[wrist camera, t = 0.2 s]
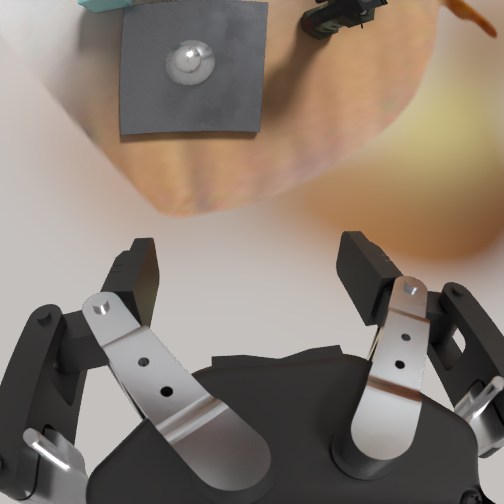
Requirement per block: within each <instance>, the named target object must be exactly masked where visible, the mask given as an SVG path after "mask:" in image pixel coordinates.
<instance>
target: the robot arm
mask: <svg viewBox="0 0 504 504" xmlns="http://www.w3.org/2000/svg"><path fill="white" fill-rule="evenodd" d="M336 269H337V274H338V276H339V278H340V280H341V282H342V283H343V285H344V287H345V289H346V290H347V292H348V294H349V296H350V298H351V299H352V301H353V303H354V305H355V307H356V309H357V310H358V312H359V314H360V316H361V318H362V320H363V322H364V323H365V325H366V326H369V325H376V324H377V325H378V328H377V331H376V333H375V336H374V339H373V342H372V345H371V348H370V351H369V354H368V357H367V359H364V358H361V357H358V356H354V355H349V354H343V353H342V350H341V348H340V345H335V346H328V347H320V348H312V349H308V350H305V351H302V352H299V353H297V354H294V355H291V356H288V357H284V358H281V359H275V358H266V357H265V358H264V357H257V356H249V355H234V356H216V357H215V356H214V357H212V366H210V367H207V368H204V369H201V370H198V371H196V372H194V373H192V374H190V373H189V372H188V371H187V370H186V369H185V368H184V367H183V366H182V365H181V364H180V362H179V361H178V360H177V359H176V358H175V357H174V356H173V355H172V354H171V352H170V351H169V350H168V349H167V348H166V347H165V346H164V345H163V343H162V342H161V341H160V340H159V339H158V337H157V336H156V335H155V334H154V333H153V332H152V330H151V329H150V325H151V320H152V314H153V309H154V305H155V300H156V296H157V291H158V286H159V268H158V261H157V257H156V249H155V244H154V239H153V238H136V239H135V240H134V242H133V244H132V246H131V248H130V250H129V251H123V252H122V253H121V254H120V255H118V256H117V257H116V259H115V261H114V263H113V265H112V267H111V269H110V272H109V274H108V276H107V278H106V280H105V283H104V284H103V287H102V289H101V291H100V293H97V294H94V295H92V296H91V297H90V298H88V299H87V300H86V301H85V302H84V304H83V306H82V310H80V311H76V312H72V313H68V314H62V312H61V309H60V308H59V307H58V306H57V305H54V304H48V305H44V306H41V307H39V308H37V309H36V310H35V311H34V312H33V313H32V314H31V315H30V317H29V319H28V321H27V323H26V325H25V327H24V329H23V331H22V334H21V336H20V338H19V340H18V342H17V345H16V347H15V349H14V352H13V354H12V357H11V359H10V361H9V364H8V366H7V369H6V372H5V374H4V377H3V380H2V382H1V385H0V492H2V493H4V494H6V495H7V496H8V497H10V498H11V499H13V500H15V501H17V502H19V503H21V504H495V503H494V502H492V501H491V500H490V499H488V498H487V497H486V496H485V495H484V493H483V491H482V489H481V487H480V483H479V475H478V457H480V458H487V457H489V456H491V455H492V454H494V453H495V452H496V451H497V450H499V449H500V448H501V447H503V446H504V336H503V335H502V333H501V332H500V331H499V329H498V328H497V327H496V325H495V324H494V322H493V321H492V320H491V318H490V317H489V316H488V314H487V313H486V312H485V311H484V309H483V308H482V307H481V306H480V304H479V303H478V302H477V300H476V299H475V298H474V297H473V296H472V294H471V293H470V292H469V291H468V290H467V289H466V288H465V287H464V286H462V285H460V284H457V283H454V282H449V283H446V284H445V285H444V287H443V289H442V292H441V293H439V292H432V291H427V288H426V286H425V285H424V284H423V283H422V282H421V281H420V280H418V279H416V278H414V277H410V276H403V274H402V273H401V272H400V271H399V269H398V268H397V267H396V266H395V265H394V264H393V262H392V261H390V259H389V257H388V256H387V255H386V254H385V253H384V252H383V250H382V249H381V248H380V247H379V246H377V245H375V244H374V243H372V242H369V240H368V239H367V238H366V237H365V236H364V235H363V233H362V232H361V231H344V232H343V233H342V236H341V242H340V247H339V252H338V257H337V262H336ZM457 328H458V329H459V331H460V332H461V334H462V335H463V337H464V339H465V342H466V345H465V349H464V351H463V353H462V352H461V350H460V349H459V347H458V345H457V344H456V342H455V341H454V339H453V337H452V336H453V335H454V333H455V331H456V329H457ZM426 354H427V355H428V357H429V359H430V361H431V362H432V365H433V366H434V368H435V370H436V372H437V374H438V376H439V378H440V380H441V382H442V384H443V386H444V388H445V390H446V392H447V394H448V397H449V399H450V401H451V403H452V405H453V407H454V412H452V411H451V410H449V409H447V408H445V407H444V406H442V405H441V404H439V403H437V402H436V401H434V400H432V399H431V398H429V397H427V396H426V395H424V394H422V393H421V392H420V390H421V385H422V379H423V373H424V367H425V361H426ZM106 365H107V366H108V367H109V369H110V370H111V373H112V374H113V376H114V378H115V379H116V381H117V382H118V384H119V386H120V387H121V389H122V390H123V392H124V393H125V395H126V396H127V398H128V400H129V401H130V403H131V404H132V406H133V407H134V409H135V410H136V412H137V413H138V415H139V416H140V418H141V419H142V422H141V423H140V424H139V425H138V426H137V427H136V428H135V429H134V430H133V431H132V432H131V433H130V434H129V435H128V436H127V437H126V438H125V439H124V440H123V441H122V442H121V443H120V444H119V445H118V446H117V447H116V448H115V449H114V450H113V451H112V452H111V453H110V454H109V455H108V456H107V457H106V458H105V459H104V460H103V461H102V462H101V463H100V464H99V465H98V466H97V467H96V468H95V469H94V471H93V472H92V473H91V475H90V477H89V478H88V476H87V474H86V471H85V462H84V458H83V456H82V454H81V453H80V452H79V450H78V449H76V448H75V447H74V443H75V436H76V429H77V423H78V416H79V411H80V405H81V399H82V394H83V389H84V384H85V380H86V375H87V370H88V369H92V368H97V367H101V366H106Z"/></svg>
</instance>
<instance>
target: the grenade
mask: <svg viewBox="0 0 504 504" xmlns="http://www.w3.org/2000/svg"><path fill="white" fill-rule="evenodd" d="M325 1H328V3H326V4H325V5H323V6H320V7H317V8H314V9H311V10H308V11H306V12H305V13H304V14H303V19H302V24H303V30H304V31H305V32H307V33H308V34H310V35H311V36H313V37H315V38H317V39H318V40H319V39H322V38H324V37H327V36H330V35H332V34H335V33H337V32H338V30H339V28H341V27H343V26H346V27H348V28H350V27H353V26H356V25H359V24H361V28H362V29H363V25H362V23H365V22H368V21H371V20H374V12H375V8H376V7H379V6H382V5H386V4H388V3H387V1H386V0H380V1H379V0H315V2H316V3H322V2H325Z"/></svg>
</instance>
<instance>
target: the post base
mask: <svg viewBox="0 0 504 504" xmlns="http://www.w3.org/2000/svg"><path fill="white" fill-rule="evenodd" d="M267 14H268V3H267V2H256V1H240V0H184V1H169V2H158V3H149V4H141V5H134V6H128V7H125V8H124V17H123V28H122V42H121V61H120V128H121V135H128V134H140V133H155V132H177V131H247V132H260V121H261V106H262V90H263V75H264V60H265V44H266V29H267Z"/></svg>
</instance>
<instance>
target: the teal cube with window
mask: <svg viewBox="0 0 504 504" xmlns="http://www.w3.org/2000/svg"><path fill="white" fill-rule="evenodd" d="M78 4H80V5H82V6H83V7H85V8H87V9H89V10H91V11H93V12H95V13H97V12H102V11H107V10H111V9H117V8H122V7H128V6H132V0H78Z"/></svg>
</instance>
